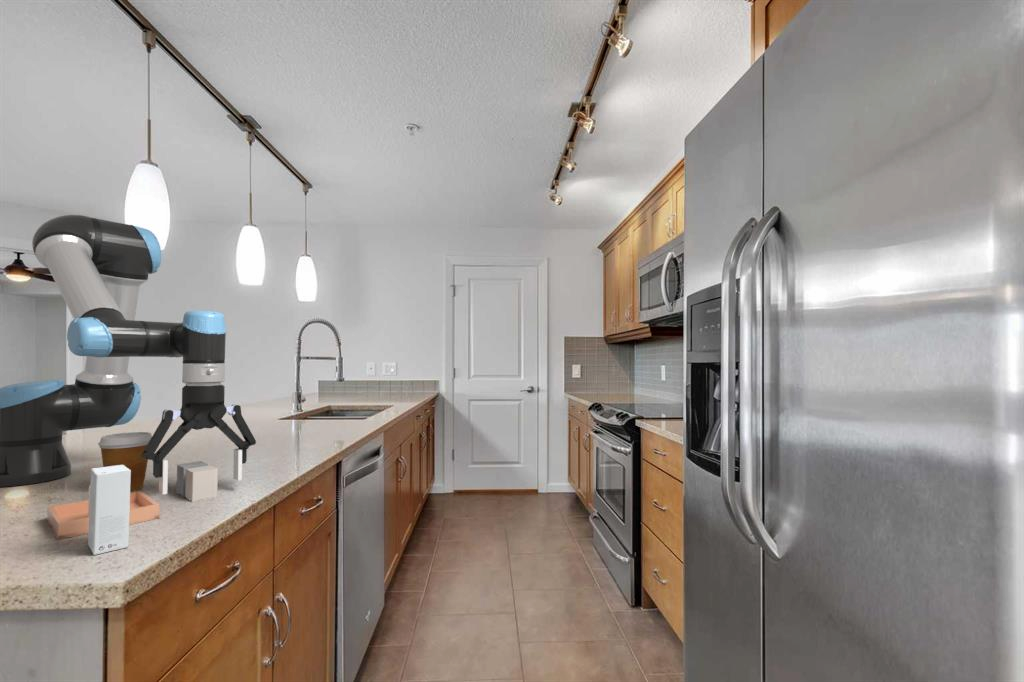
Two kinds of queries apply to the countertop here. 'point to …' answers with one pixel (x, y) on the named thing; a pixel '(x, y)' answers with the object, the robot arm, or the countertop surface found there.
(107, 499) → the skincare box
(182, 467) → the grey rectangular block
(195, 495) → the beige rectangular block
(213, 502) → the countertop surface
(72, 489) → the countertop surface
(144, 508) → the dish
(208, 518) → the countertop surface
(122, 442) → the disposable coffee cup
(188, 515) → the countertop surface
